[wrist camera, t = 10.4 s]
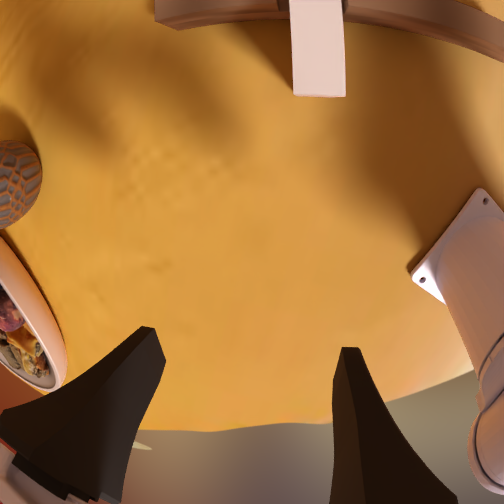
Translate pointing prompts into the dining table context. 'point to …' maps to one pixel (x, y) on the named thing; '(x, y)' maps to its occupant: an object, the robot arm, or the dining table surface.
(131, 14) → the dining table surface
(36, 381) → the bowl
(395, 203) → the dining table surface
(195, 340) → the dining table surface
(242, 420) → the dining table surface
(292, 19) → the notched white slab
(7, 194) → the vase
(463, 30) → the walnut rail
